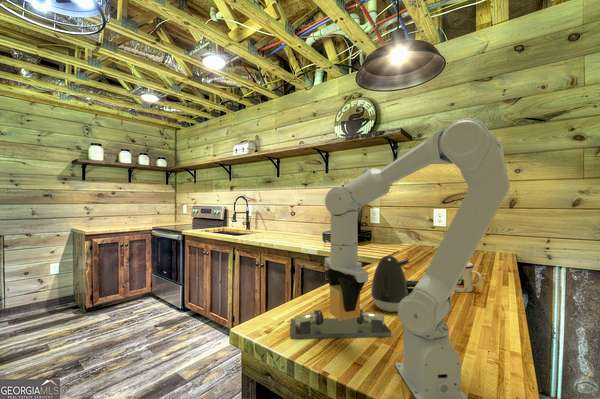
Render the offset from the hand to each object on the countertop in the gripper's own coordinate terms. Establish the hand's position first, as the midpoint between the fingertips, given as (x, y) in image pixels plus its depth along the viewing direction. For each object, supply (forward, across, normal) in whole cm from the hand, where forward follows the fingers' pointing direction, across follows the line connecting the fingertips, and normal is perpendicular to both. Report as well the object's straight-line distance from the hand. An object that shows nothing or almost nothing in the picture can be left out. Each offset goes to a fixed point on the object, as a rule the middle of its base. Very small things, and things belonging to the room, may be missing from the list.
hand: (344, 306), depth 60 cm
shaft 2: (+7, +3, -9) cm, 12 cm away
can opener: (+9, +20, -34) cm, 41 cm away
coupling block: (+2, 0, 0) cm, 2 cm away
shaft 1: (+8, +8, +5) cm, 12 cm away
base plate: (+8, +7, -2) cm, 11 cm away
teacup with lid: (+9, +16, -57) cm, 60 cm away
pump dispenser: (+9, +12, -23) cm, 27 cm away
